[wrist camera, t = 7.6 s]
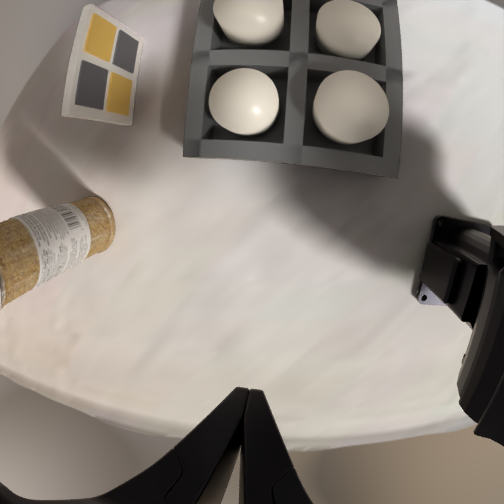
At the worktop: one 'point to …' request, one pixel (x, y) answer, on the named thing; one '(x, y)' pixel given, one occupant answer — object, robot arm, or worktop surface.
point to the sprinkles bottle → (50, 243)
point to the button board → (295, 92)
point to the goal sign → (102, 70)
